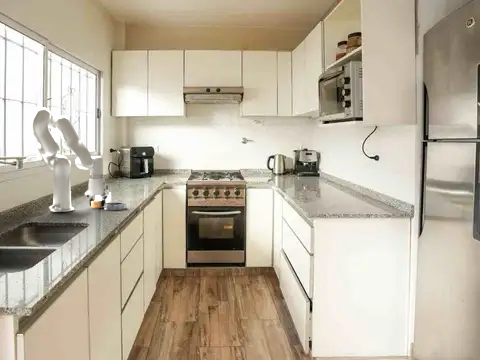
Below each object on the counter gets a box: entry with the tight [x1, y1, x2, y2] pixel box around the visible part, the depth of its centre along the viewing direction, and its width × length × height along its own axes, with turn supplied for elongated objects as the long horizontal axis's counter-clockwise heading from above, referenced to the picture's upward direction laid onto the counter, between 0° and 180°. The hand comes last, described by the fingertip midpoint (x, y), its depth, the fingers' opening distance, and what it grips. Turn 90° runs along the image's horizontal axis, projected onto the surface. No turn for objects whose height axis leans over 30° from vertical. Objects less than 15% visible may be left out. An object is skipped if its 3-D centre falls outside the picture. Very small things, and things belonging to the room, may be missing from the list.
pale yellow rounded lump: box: [90, 199, 104, 209], centre depth 287 cm, size 7×7×4 cm
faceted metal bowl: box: [103, 201, 127, 211], centre depth 282 cm, size 13×13×3 cm
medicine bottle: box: [94, 184, 112, 203], centre depth 303 cm, size 7×7×12 cm
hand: (97, 205), depth 287 cm, fingers closed on pale yellow rounded lump, 7 cm apart
